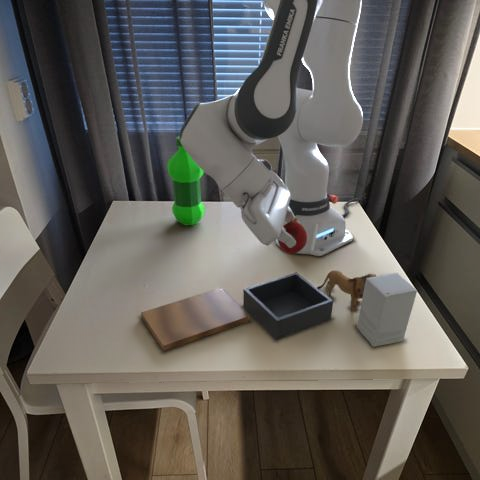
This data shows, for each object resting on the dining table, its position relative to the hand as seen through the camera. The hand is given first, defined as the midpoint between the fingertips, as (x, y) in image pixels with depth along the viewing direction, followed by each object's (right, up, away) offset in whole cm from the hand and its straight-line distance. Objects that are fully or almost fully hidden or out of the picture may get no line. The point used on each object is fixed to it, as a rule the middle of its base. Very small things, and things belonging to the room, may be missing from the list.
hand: (295, 236), depth 90 cm
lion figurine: (+14, -12, +16) cm, 24 cm away
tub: (-1, -15, +12) cm, 19 cm away
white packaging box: (+19, -20, +6) cm, 28 cm away
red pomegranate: (-1, -3, +3) cm, 4 cm away
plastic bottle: (-27, +14, +49) cm, 58 cm away
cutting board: (-21, -17, +10) cm, 29 cm away
